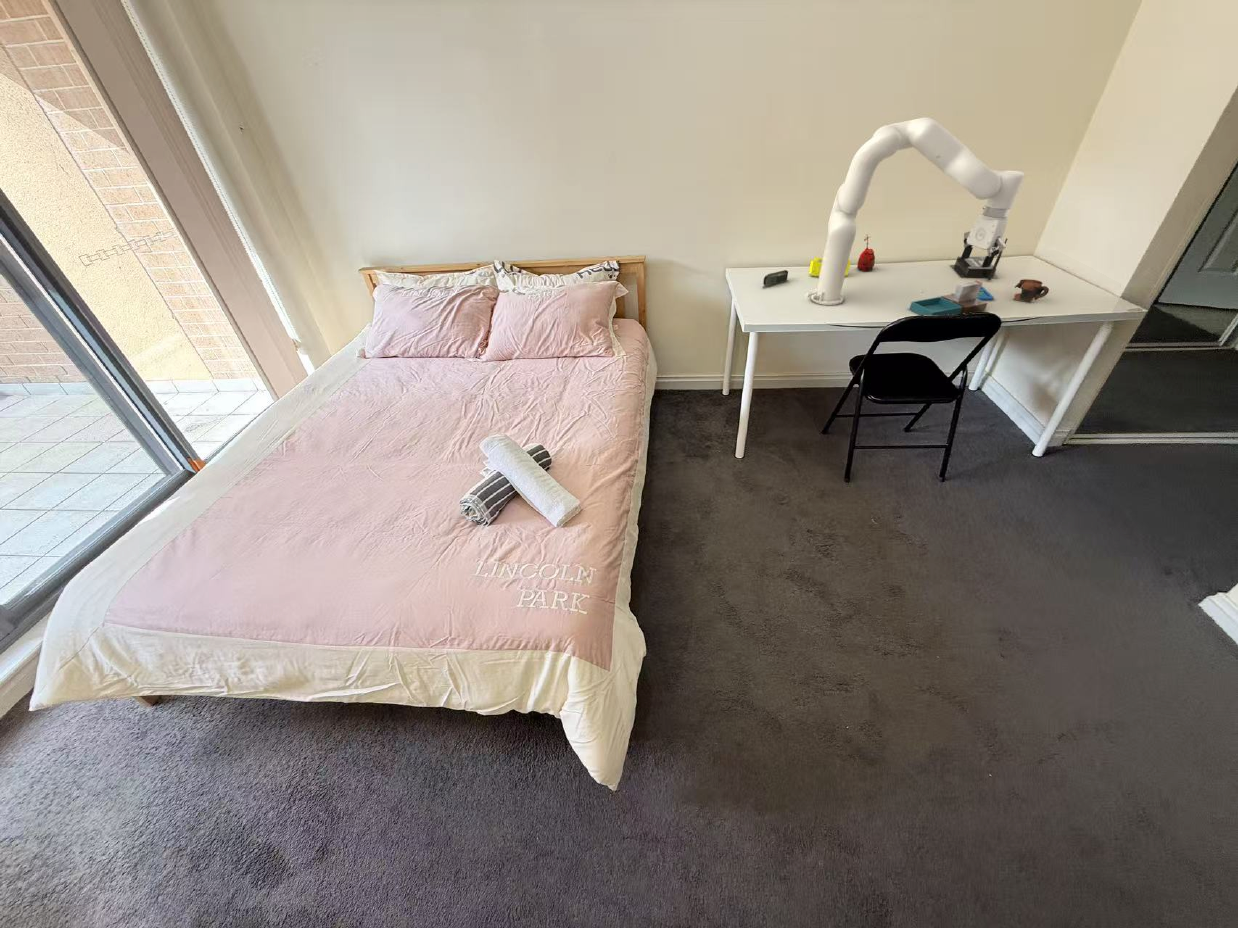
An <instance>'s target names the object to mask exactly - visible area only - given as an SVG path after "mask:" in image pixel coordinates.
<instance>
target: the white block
mask: <svg viewBox="0 0 1238 928" xmlns="http://www.w3.org/2000/svg"><path fill="white" fill-rule="evenodd" d="M983 284H984V283H983V282H982V281H980V280H975V281H970V282H964V283H959V284H958V285H957V287H956V289H955V292H954V294H955V295H954V297H953V300H954V301H956V302H961V301H967V300H972V299H976V298H977V296H978V293H979V291H980V289H981V286H982V287H983Z"/></svg>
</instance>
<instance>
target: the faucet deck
mask: <svg viewBox="0 0 1238 928" xmlns="http://www.w3.org/2000/svg"><path fill="white" fill-rule="evenodd" d="M954 295H955V293H952V292H951V294H950V293H949V294H946V295H945V294H944V295H941V296H940V297H942V298H944V299H947V300H949V301H950V302H953V303H955V304H957V305H959V306H961V307H963V308H962V310H961V313H960V315H962V314H963V313H969V314H971V313H970V312H974V313H979V312H984V311H985V310H986V308H987V307H988V306H987V305H988V302H986V301H985V300H980V299H977V298H976V299H972V300H967V301H961V302H956V301H954V300H953V297H954ZM977 297H978V296H977Z"/></svg>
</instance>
